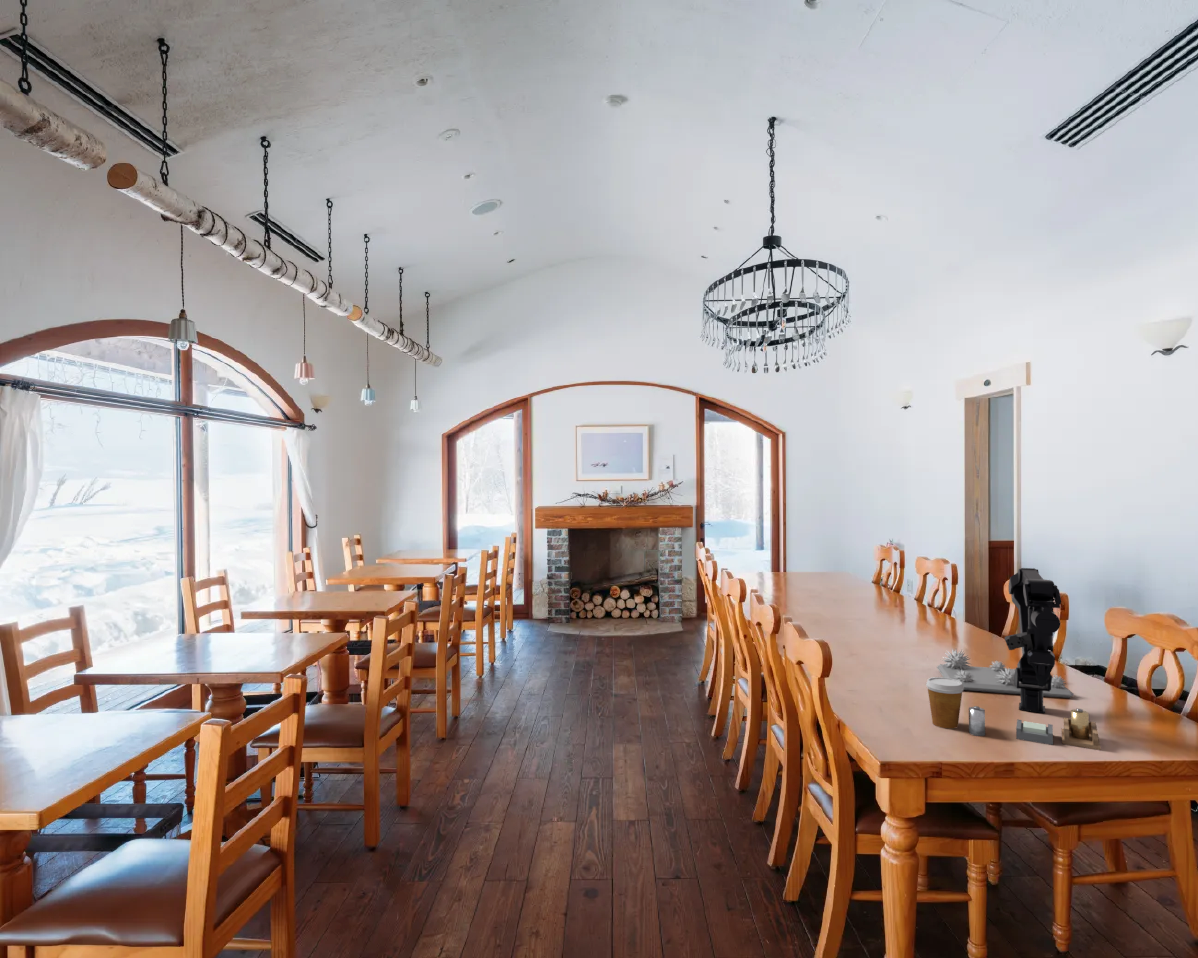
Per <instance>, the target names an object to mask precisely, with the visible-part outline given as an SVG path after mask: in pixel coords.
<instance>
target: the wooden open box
mask: <svg viewBox="0 0 1198 958" xmlns="http://www.w3.org/2000/svg"><path fill="white" fill-rule="evenodd" d="M1061 744H1062V745H1067V746H1073V747H1078V748H1084V749H1085V748H1086V749H1092V750H1095V751H1096V750H1098V751H1101V749H1102V747H1101V741H1100V737H1099V732H1098V728H1097V723H1096V722H1095V721H1089V739H1087V740H1083V739H1077V738H1074V737H1072V736H1071V717H1063V728H1061Z"/></svg>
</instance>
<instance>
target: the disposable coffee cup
mask: <svg viewBox="0 0 1198 958" xmlns="http://www.w3.org/2000/svg"><path fill="white" fill-rule="evenodd" d="M926 681H927V682H925V686H926V688H927V693H928V699H929V701H928V702H929V706H930V713H931V714H930V715H931V720H932V724H933V725H934V726H936V727H938V728H943V729H950V730H951V729H956V728H958V727H959V720H960V714H961V713H960V712H961V706H962V704H961V703H962V697H963V692H964V691H965V690H964V687H963V685H962V682H960V681H958V680H955V679H951V678H944V677H943V676H938V677H937V676H935V677H929V678H927V680H926Z"/></svg>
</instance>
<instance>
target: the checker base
mask: <svg viewBox="0 0 1198 958" xmlns="http://www.w3.org/2000/svg"><path fill="white" fill-rule="evenodd" d="M1022 721H1023V720H1022V719H1019V718H1018V719H1017V720H1016V728H1015V729H1016V730H1015V731H1016V732H1015V733H1016V736H1015V737H1016V739H1017V740H1020V741H1026V742H1033V743H1040V744H1046V745H1051V746H1054V737H1053V736H1054V730H1053V729H1054V727H1053V726H1054V725H1053V724H1051V723H1047V726H1046V734H1042V733H1036V732H1029V731H1023V723H1024V722H1022Z"/></svg>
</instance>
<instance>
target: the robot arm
mask: <svg viewBox="0 0 1198 958" xmlns="http://www.w3.org/2000/svg"><path fill="white" fill-rule="evenodd" d="M1008 594H1009V595H1010V597H1011V602H1012V603H1013V604H1014V605H1015V607H1016V608H1017V609H1018V617H1019V618H1018V619H1019V620H1018V621H1019V631H1020V632H1019V633H1014V634H1009V635H1006V636H1004V642H1005V643H1006V644H1005V645H1006V646H1007V648H1008V651H1013V650H1015V649H1020V648H1021V653H1022V655H1021V657H1020V658H1019V661H1018V662H1017V664H1016V665H1017V667H1015V669H1016V670H1015V675H1014V685H1015V686H1016V688H1017V689H1019V688H1020V694H1019V695H1020V702H1019V703H1018V710H1020V711H1024V712H1025V711H1027V712H1033V713H1040V714H1045V713H1046V706H1045V705H1044V696H1043V691H1049V692H1050V690H1051V682H1052V677H1053V675H1052V674H1051V672H1052V670H1053V669H1054V667H1055V665H1056V656H1055V653H1054V638H1053V637H1054V633H1056V632H1057V631H1058V630H1059V629H1060V628H1061V619H1060V618H1059V616H1058V615H1056V614H1055V612H1054V609H1060V608H1061V605H1062V598H1061V594H1060V589H1059V588H1058V586H1057V585H1056V584H1055V582H1054V581H1053V580H1050V579H1045V578H1043V577H1042V575H1040V571H1039V569H1036V568H1034V567H1033V568H1032V567H1030V568H1028V567H1020V568H1018V569H1017V572H1016V573H1015V574H1012V576H1010V577H1009V581H1008ZM1019 682H1021V683H1019Z"/></svg>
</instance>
